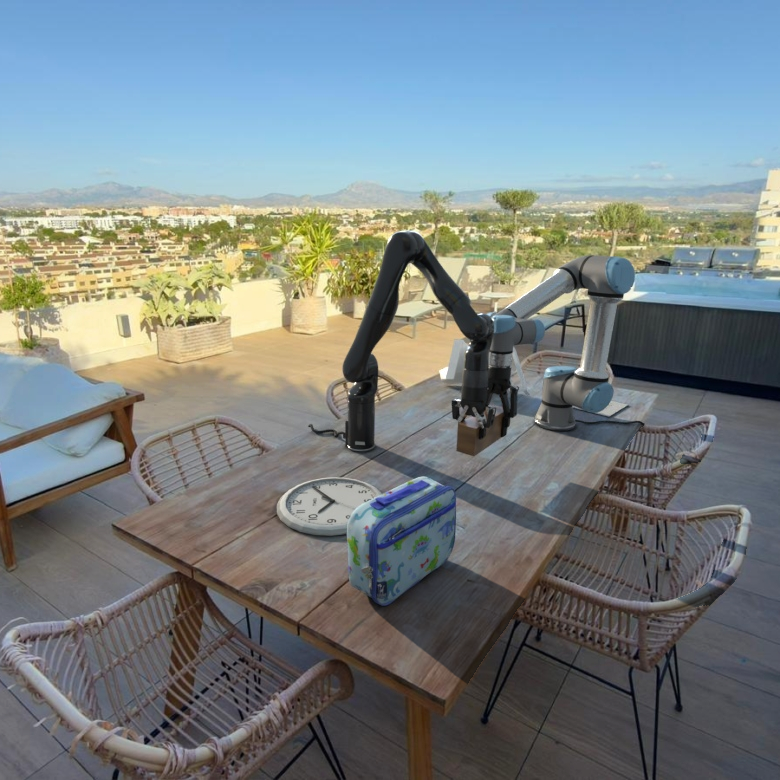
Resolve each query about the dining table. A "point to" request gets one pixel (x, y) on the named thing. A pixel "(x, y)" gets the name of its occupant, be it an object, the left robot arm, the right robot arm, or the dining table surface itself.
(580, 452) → the dining table surface
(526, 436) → the dining table surface
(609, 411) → the invitation card
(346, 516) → the wall clock
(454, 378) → the white plastic object
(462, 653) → the dining table surface
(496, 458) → the dining table surface
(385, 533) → the lunch box
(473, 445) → the box
